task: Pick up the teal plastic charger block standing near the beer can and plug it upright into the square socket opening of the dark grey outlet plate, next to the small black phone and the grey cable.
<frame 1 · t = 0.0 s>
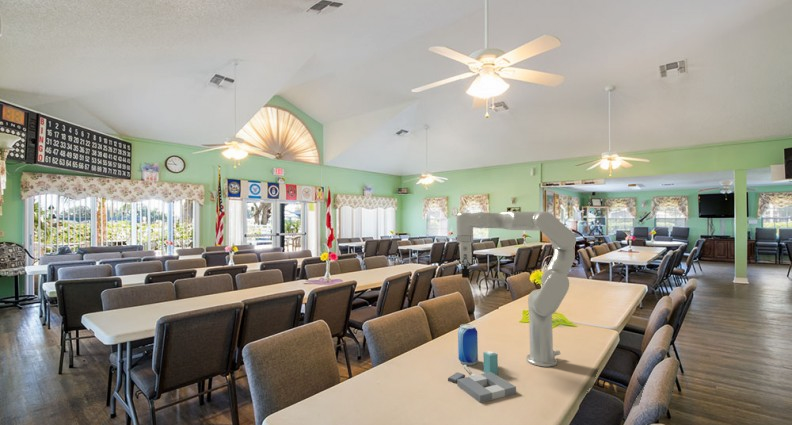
hand: (465, 276, 164), 37 cm above the table, tool pointing down, fingers open, 9 cm apart
phone: (456, 379, 140), on the table
cable: (468, 372, 146), on the table
socket plate: (486, 389, 131), on the table
beer can: (468, 362, 157), on the table
charger: (490, 372, 146), on the table
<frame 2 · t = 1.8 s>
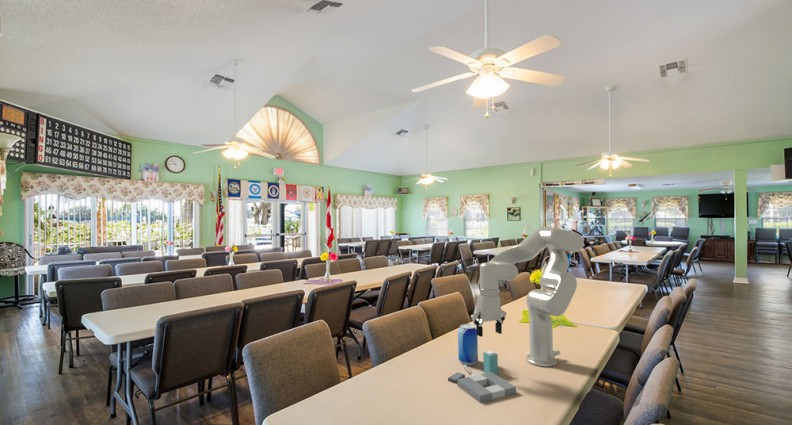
hand: (489, 334, 146), 16 cm above the table, tool pointing down, fingers open, 9 cm apart
nothing on the table moved.
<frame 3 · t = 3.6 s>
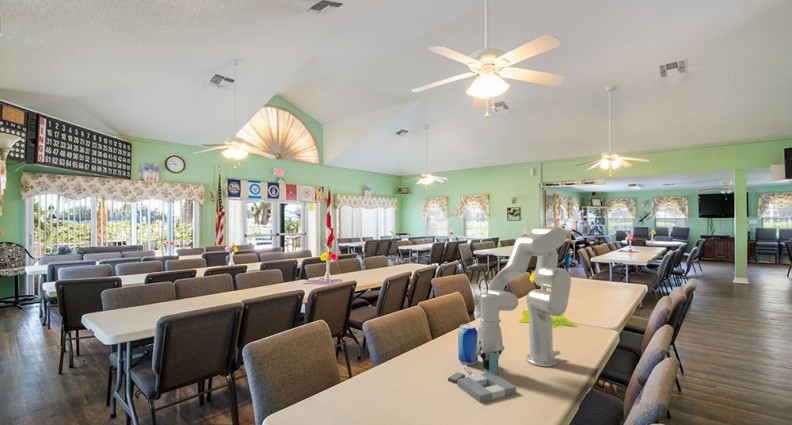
hand: (490, 367, 146), 2 cm above the table, tool pointing down, fingers closed on charger, 4 cm apart
charger: (490, 372, 146), on the table, touching gripper
everything else where it was.
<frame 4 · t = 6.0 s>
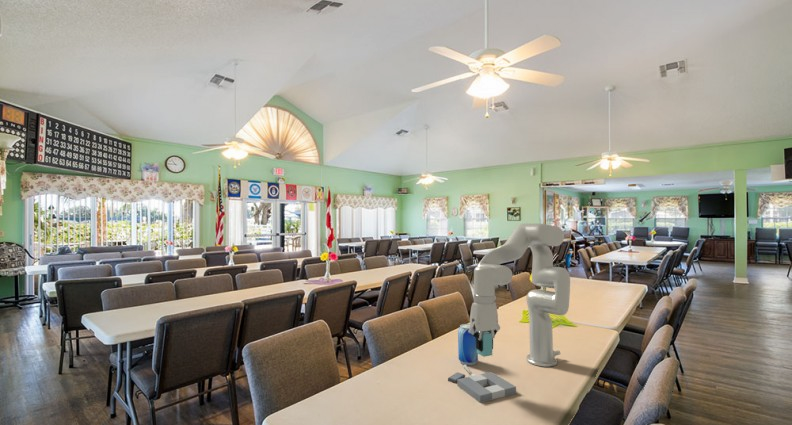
hand: (484, 348, 131), 15 cm above the table, tool pointing down, fingers closed on charger, 4 cm apart
charger: (484, 354, 131), point 13 cm above the table, touching gripper
everything else where it was.
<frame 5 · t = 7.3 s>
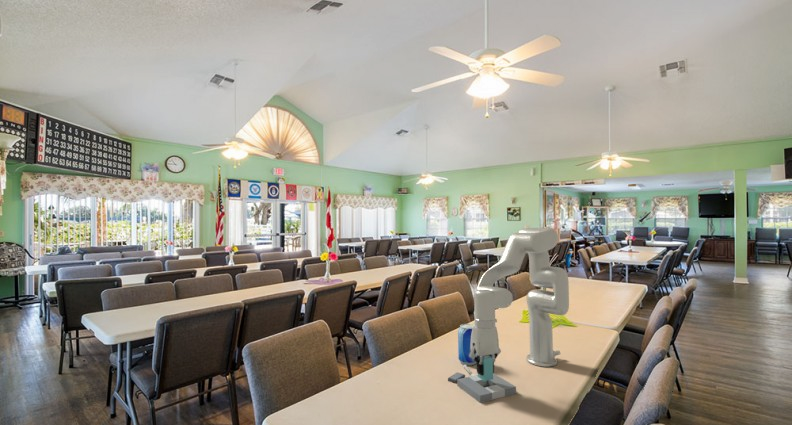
hand: (485, 372, 131), 6 cm above the table, tool pointing down, fingers closed on charger, 4 cm apart
charger: (485, 377, 131), point 4 cm above the table, touching gripper
everything else where it was.
when the fingers open (3 cm above the table, at t = 8.3 s): charger stays where it is, resting in socket plate.
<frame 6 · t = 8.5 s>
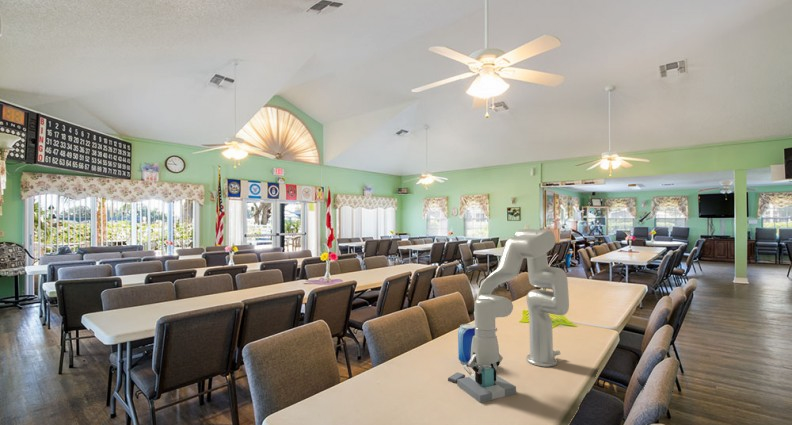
hand: (485, 380, 131), 3 cm above the table, tool pointing down, fingers open, 5 cm apart
charger: (486, 389, 131), resting in socket plate
everything else where it was.
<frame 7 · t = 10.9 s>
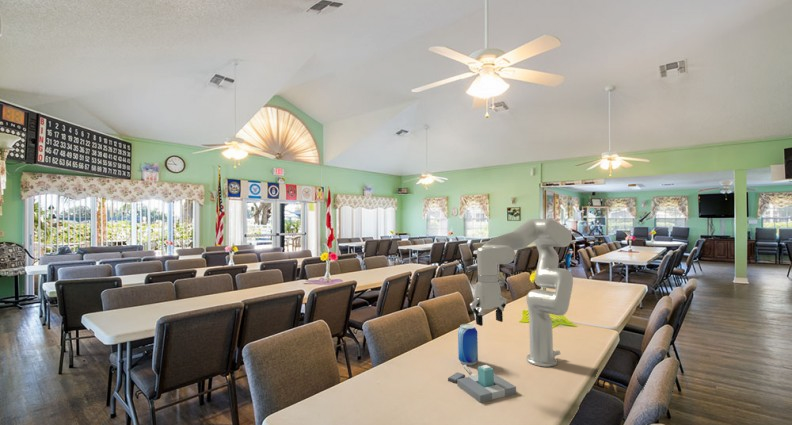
hand: (489, 322, 137), 23 cm above the table, tool pointing down, fingers open, 9 cm apart
nothing on the table moved.
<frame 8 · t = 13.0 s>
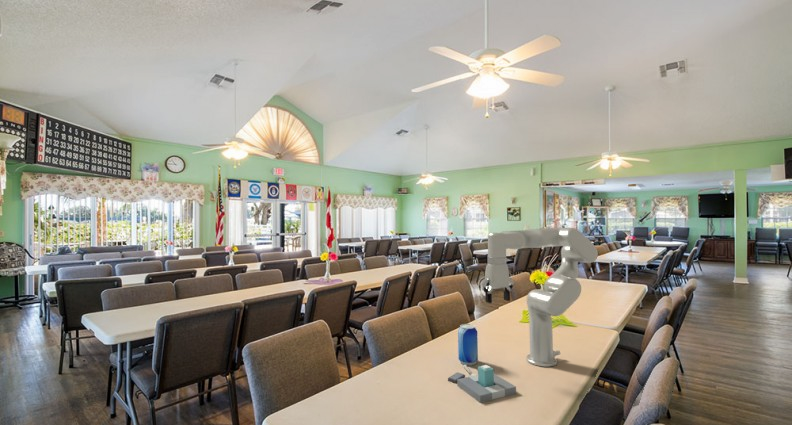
hand: (497, 301, 151), 28 cm above the table, tool pointing down, fingers open, 9 cm apart
nothing on the table moved.
at the end: charger 0.1 cm off-centre on the socket plate, point 0.0 cm above the socket plate's base; charger tilted 0°; the gripper is holding nothing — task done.
